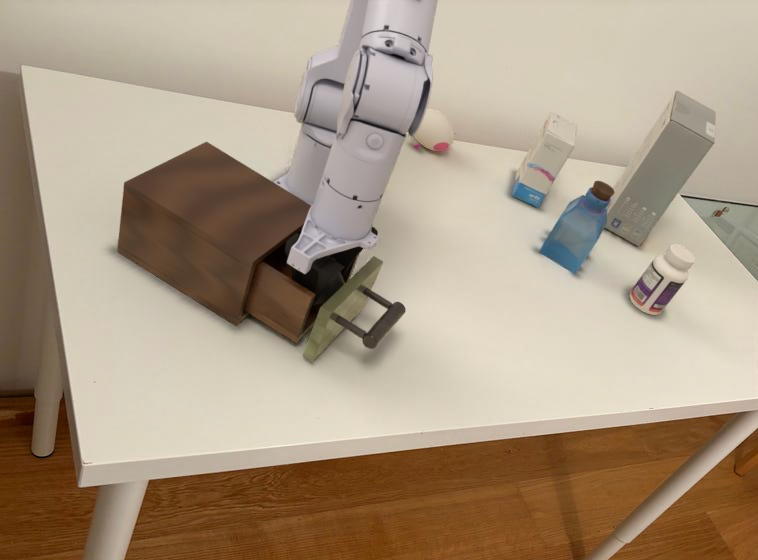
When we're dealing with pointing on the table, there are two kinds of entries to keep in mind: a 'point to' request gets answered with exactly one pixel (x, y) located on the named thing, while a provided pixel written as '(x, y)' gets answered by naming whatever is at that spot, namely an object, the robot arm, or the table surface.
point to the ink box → (545, 159)
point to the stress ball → (435, 131)
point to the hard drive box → (660, 167)
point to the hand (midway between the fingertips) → (315, 290)
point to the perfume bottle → (579, 228)
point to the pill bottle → (662, 280)
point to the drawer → (293, 304)
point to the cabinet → (206, 225)
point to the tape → (331, 288)
